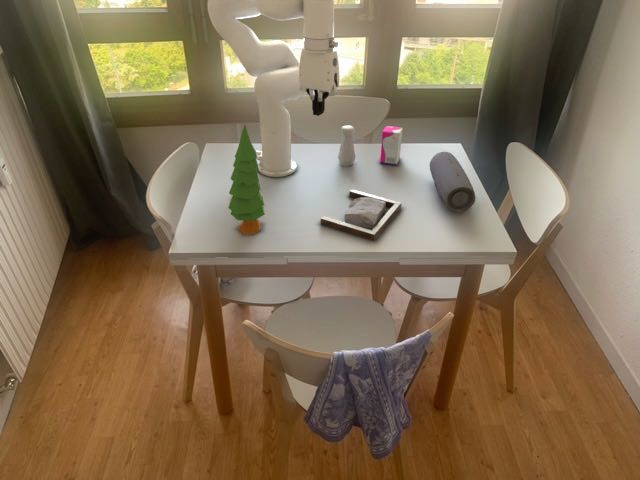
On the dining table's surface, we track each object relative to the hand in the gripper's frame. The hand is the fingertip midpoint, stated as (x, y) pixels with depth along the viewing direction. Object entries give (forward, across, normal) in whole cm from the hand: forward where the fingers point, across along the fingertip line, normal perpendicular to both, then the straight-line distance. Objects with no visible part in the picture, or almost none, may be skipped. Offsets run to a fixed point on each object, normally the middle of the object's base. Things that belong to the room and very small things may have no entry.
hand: (318, 113), depth 135 cm
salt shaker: (+25, +2, -23) cm, 34 cm away
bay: (+25, -17, +5) cm, 31 cm away
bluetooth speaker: (+25, -35, -18) cm, 47 cm away
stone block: (+25, -18, +5) cm, 31 cm away
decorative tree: (+25, +7, +26) cm, 37 cm away
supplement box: (+25, -10, -32) cm, 42 cm away
